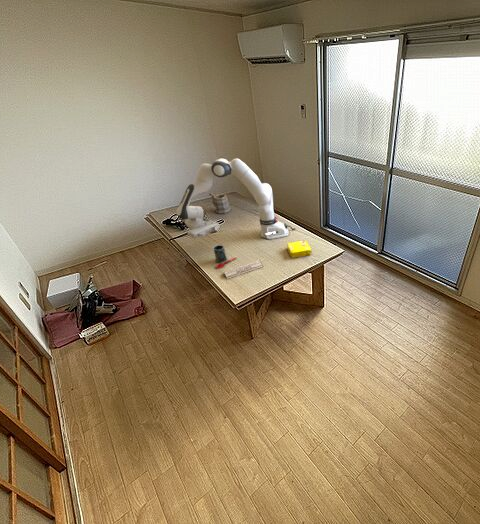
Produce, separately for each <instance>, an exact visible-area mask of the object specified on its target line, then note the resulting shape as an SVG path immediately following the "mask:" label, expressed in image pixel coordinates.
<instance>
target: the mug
mask: <svg viewBox="0 0 480 524" xmlns="http://www.w3.org/2000/svg"><path fill="white" fill-rule="evenodd" d="M212 250H213V253H214V257H215V261H216V262H217V263H218V264H221V263H225V262H227V261H228V258H227V254H226V250H225V247H224V245H222V244H218V245H214V247H213V248H212Z"/></svg>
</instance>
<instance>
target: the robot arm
mask: <svg viewBox="0 0 480 524" xmlns="http://www.w3.org/2000/svg"><path fill="white" fill-rule="evenodd" d="M231 174H232V175H234V176H235V177H236V179H238V180H239V181H240V182H241V183H242V185H244V186H245V188H247V190H248V192H249V193H250V194H251V196H252V197H253V198H254V200H255V203H257V205H258V214H259V224H260V237H262V238H264V239H267V240H275V239H279V238H286V237H288V236H289V234H290V231H289V229H288V227H289V228H290V229H291V230H292V231H294V230H296V228H293V227H292V226H291V225H289V224H288V225H287V223H286V222H285V223H283V222H281V221H279V220H278V217H277V216H276V215H275V211H274V195H273V189H272V186H271V185H270V184H269V183H267V182H261V180H260V179H259V176H258V175H257V174H256V173H255V172H254V171H253V169H251V168H250V167H249V166H248V165H247V164H246V163H245V162H244V161H242V160H241V159H240V158H233V159H232V160H229V159H228V158H226V157H219V158H217V159H216V160H214V161H213V162H212V163H211V164H210V163H206V162H205V163H201V164H200V166H199V167H198V170H197V172H196V174H195V175H196V176H195V179H194V180H193V181H192V183H190V184H189V185H188V186H187V188H186V189H185V192H184V193H183V196H182V198H181V201H180V202H179V205H178V206H177V208H176V211H175V214H176V216H177V217H178V218H179V219H180V220H184V224H185V226H186V227H187V228H188V229H189V231H188V232H187V235H190V236H191V237H192V238H193V239H197V238H199V237H200V238H201V237H203V238H205V237H206V236H207V234H209V233H212V232H214V233H217V232H219V229H220V228H221V227H220V224H219V223H218V222H216V221H214V220H212V219H207V220H205V218H206V211H205V209H204V208H203V207H202V206H199V205H190V204H191V201H192V199H193V198H194V197H195V196H197V195H200V194H204V193H207V192H209V191H211V189H212V187H213V184H214V180H215V177H216V178H225V177H227V176H230V175H231Z"/></svg>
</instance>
